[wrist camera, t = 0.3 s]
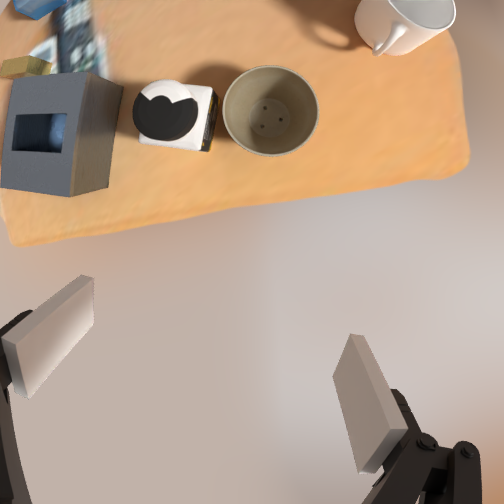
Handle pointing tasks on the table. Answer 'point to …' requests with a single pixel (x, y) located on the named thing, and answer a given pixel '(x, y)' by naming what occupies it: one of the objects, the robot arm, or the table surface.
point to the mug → (401, 23)
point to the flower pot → (270, 110)
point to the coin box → (60, 133)
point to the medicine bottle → (176, 115)
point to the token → (25, 67)
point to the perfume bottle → (37, 7)
